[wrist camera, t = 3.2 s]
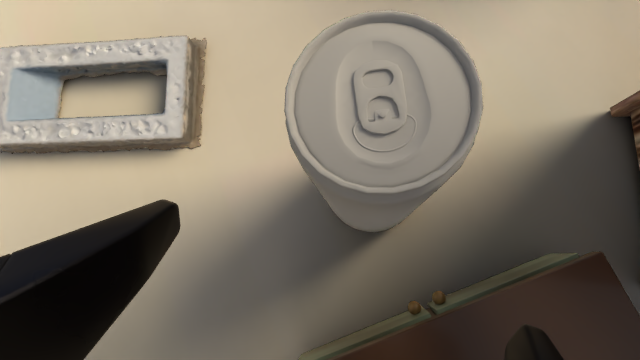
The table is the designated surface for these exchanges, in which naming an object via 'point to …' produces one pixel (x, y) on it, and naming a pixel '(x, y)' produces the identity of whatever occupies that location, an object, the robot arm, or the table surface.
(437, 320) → the dark wooden slab
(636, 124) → the book
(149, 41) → the picture frame
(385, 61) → the beverage can
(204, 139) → the table surface
